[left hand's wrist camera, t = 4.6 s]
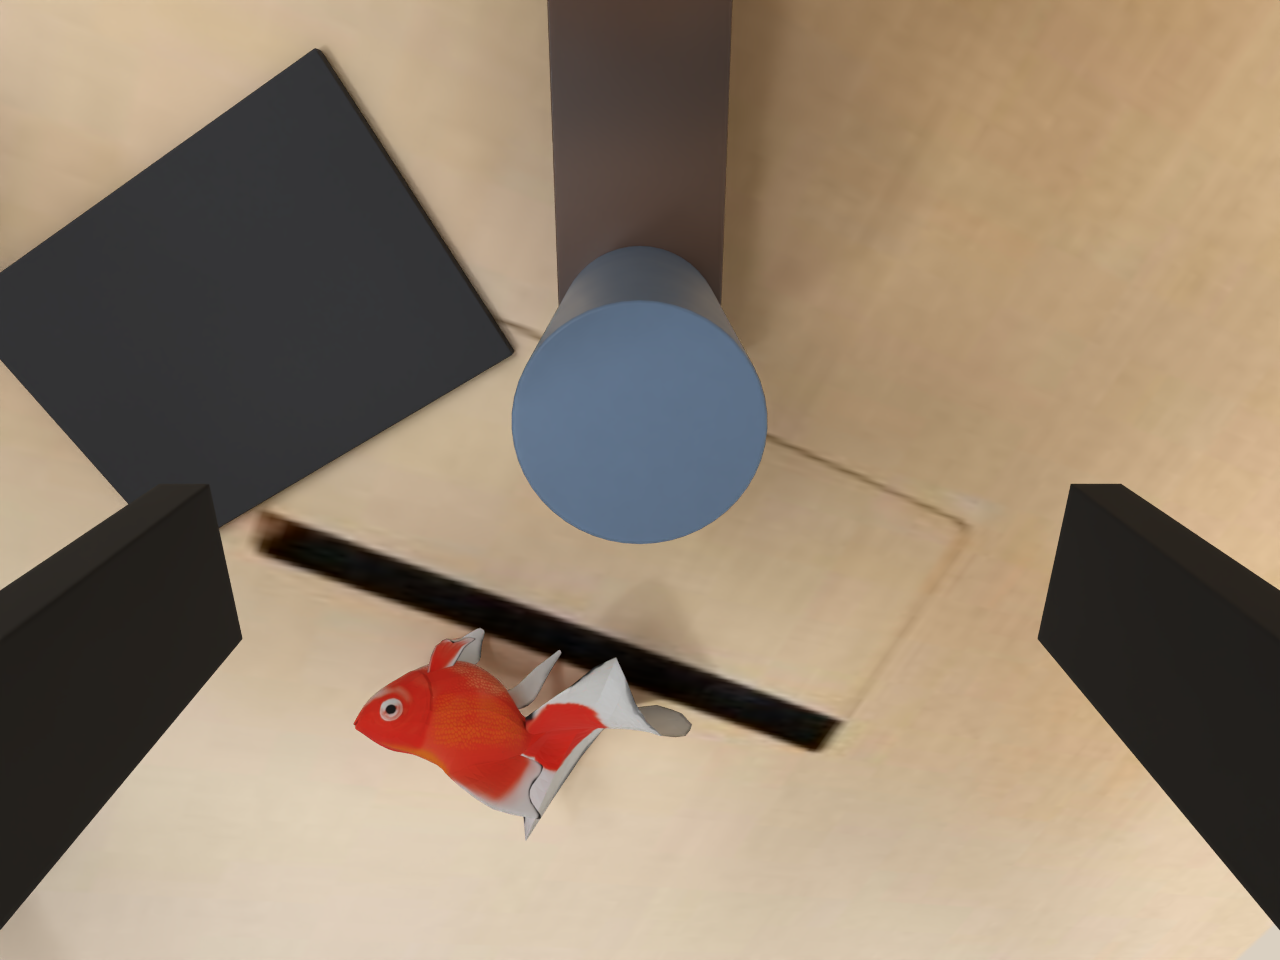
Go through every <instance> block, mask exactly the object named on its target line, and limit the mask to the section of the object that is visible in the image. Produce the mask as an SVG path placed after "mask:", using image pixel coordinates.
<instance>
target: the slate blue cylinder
mask: <svg viewBox="0 0 1280 960" xmlns="http://www.w3.org/2000/svg"><path fill="white" fill-rule="evenodd" d="M512 434H513V442H514V447H515V451H516V454H517V458H518V461H519V463H520V466H521V468H522V471H523V473H524V475H525V477H526V478H527V480H528V482H529V484H530V485H531V487H532V488H533V490H534V491H535V492H536V494H537V495H538V496H539V498H540V499H541V500H542V501H543V502H544V503H545V504H546V505H547V506H548V507H549V508H550V509H551V510H552V511H553V512H554V513H555V514H557V515H558V516H559V517H561V518H562V519H563V520H565V521H566V522H568V523H569V524H571V525H573V526H574V527H576V528H578V529H579V530H582V531H584V532H586V533H588V534H591V535H593V536H596V537H599V538H603V539H606V540H610V541H615V542H621V543H632V544H647V543H658V542H664V541H669V540H673V539H676V538H680V537H683V536H686V535H688V534H691V533H693V532H695V531H697V530H700V529H701V528H703V527H705V526H707V525H708V524H710V523H712V522H713V521H715V520H716V519H717V518H718V517H720V516H721V515H722V514H724V513H725V512H726V511H727V510H728V509H729V508H730V507H731V506H732V505H733V504H734V503H735V502H736V501H737V500H738V499H739V498H740V496H741V495H742V494H743V493H744V491H745V490H746V489H747V487H748V485H749V484H750V482H751V480H752V479H753V477H754V475H755V473H756V471H757V468H758V466H759V464H760V461H761V458H762V455H763V451H764V447H765V443H766V435H767V408H766V402H765V396H764V392H763V389H762V386H761V382H760V380H759V377H758V375H757V373H756V371H755V368H754V366H753V364H752V363H751V361H750V359H749V357H748V355H747V353H746V352H745V350H744V348H743V346H742V344H741V342H740V341H739V339H738V337H737V335H736V333H735V331H734V330H733V328H732V326H731V324H730V322H729V320H728V319H727V317H726V315H725V313H724V311H723V309H722V308H721V306H720V304H719V302H718V300H717V298H716V297H715V295H714V293H713V291H712V289H711V288H710V286H709V284H708V283H707V281H706V280H705V278H704V277H703V276H702V275H701V274H700V272H699V271H698V270H697V269H696V268H695V267H693V266H692V265H691V264H690V263H689V262H687V261H686V260H684V259H683V258H682V257H680V256H678V255H676V254H674V253H672V252H669V251H666V250H663V249H660V248H655V247H648V246H632V247H625V248H620V249H617V250H614V251H611V252H608V253H606V254H604V255H602V256H600V257H598V258H597V259H595V260H594V261H593V262H591V263H590V264H588V265H587V266H586V267H585V268H584V269H583V270H582V271H581V272H580V273H579V274H578V276H577V277H576V278H575V279H574V281H573V282H572V284H571V286H570V287H569V289H568V291H567V293H566V294H565V296H564V298H563V300H562V302H561V303H560V305H559V307H558V309H557V311H556V312H555V314H554V316H553V318H552V320H551V321H550V323H549V325H548V327H547V328H546V330H545V332H544V334H543V336H542V337H541V339H540V341H539V343H538V345H537V346H536V348H535V350H534V352H533V354H532V355H531V357H530V359H529V361H528V363H527V364H526V366H525V368H524V371H523V373H522V375H521V377H520V380H519V382H518V386H517V389H516V392H515V396H514V402H513V409H512Z"/></svg>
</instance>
